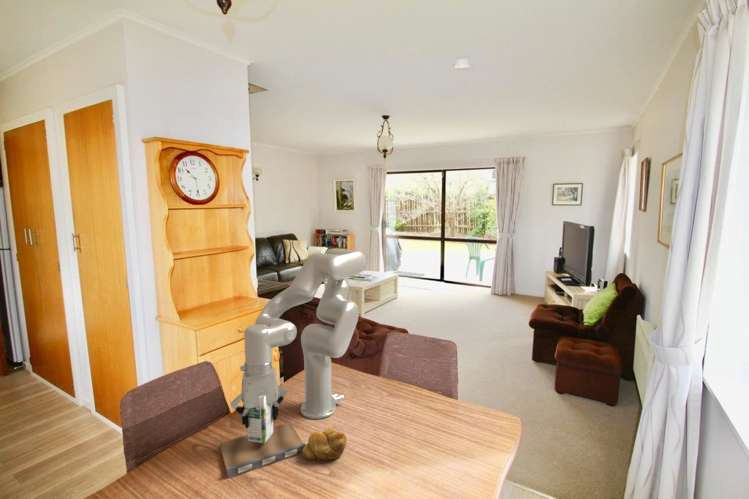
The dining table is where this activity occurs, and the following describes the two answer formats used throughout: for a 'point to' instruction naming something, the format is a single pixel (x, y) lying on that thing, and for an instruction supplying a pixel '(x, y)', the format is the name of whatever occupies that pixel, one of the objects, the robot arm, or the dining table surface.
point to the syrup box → (260, 421)
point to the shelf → (260, 450)
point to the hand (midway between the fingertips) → (260, 421)
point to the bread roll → (325, 445)
